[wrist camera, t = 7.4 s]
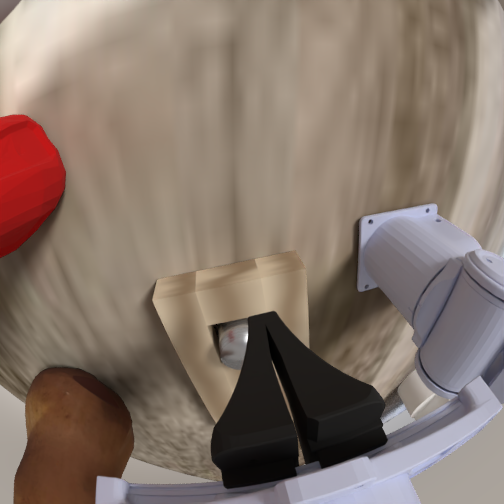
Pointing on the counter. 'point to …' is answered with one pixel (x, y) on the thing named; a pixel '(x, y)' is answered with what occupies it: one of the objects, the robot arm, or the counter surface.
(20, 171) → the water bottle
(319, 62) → the counter surface
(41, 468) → the butternut squash
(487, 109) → the counter surface
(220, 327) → the steel plunger
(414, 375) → the base with upright slab
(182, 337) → the socket block
